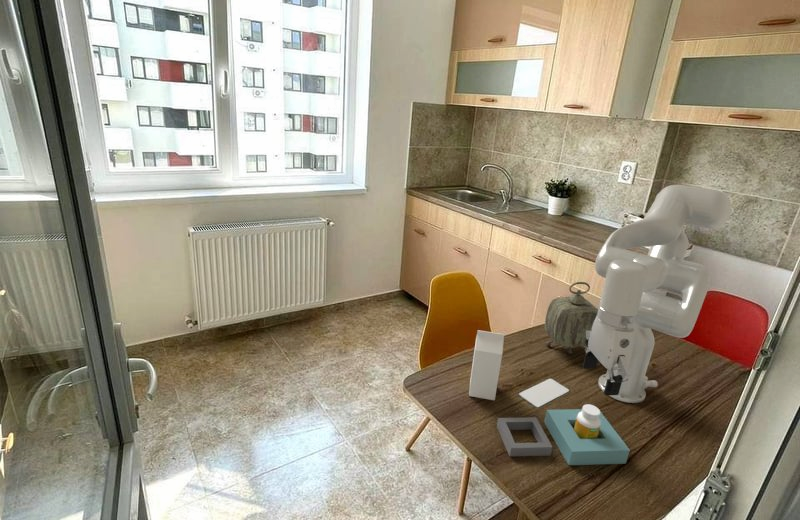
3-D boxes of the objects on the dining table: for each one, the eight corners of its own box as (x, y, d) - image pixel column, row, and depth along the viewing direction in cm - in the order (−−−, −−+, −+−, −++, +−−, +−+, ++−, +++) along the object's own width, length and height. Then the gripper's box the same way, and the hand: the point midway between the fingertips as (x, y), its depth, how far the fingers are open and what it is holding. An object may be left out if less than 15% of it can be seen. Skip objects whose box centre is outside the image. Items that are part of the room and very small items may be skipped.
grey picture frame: (534, 425, 112) (536, 417, 111) (550, 455, 102) (552, 447, 101) (496, 425, 111) (498, 417, 110) (509, 456, 101) (511, 448, 100)
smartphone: (517, 393, 123) (550, 377, 131) (516, 395, 123) (550, 379, 131) (536, 408, 118) (570, 390, 126) (536, 409, 118) (570, 391, 126)
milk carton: (494, 401, 120) (504, 341, 113) (468, 396, 121) (477, 336, 114) (494, 385, 126) (504, 328, 120) (470, 381, 127) (478, 324, 121)
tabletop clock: (579, 342, 152) (594, 277, 143) (593, 357, 144) (610, 288, 135) (540, 343, 150) (553, 276, 141) (552, 358, 142) (567, 288, 133)
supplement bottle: (585, 453, 104) (594, 420, 100) (566, 438, 108) (574, 406, 104) (599, 444, 107) (608, 412, 103) (580, 430, 111) (588, 399, 107)
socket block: (595, 421, 114) (598, 409, 113) (625, 463, 101) (630, 450, 100) (544, 422, 113) (546, 409, 111) (568, 465, 100) (572, 451, 98)
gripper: (657, 337, 87) (636, 405, 94) (611, 297, 103) (595, 358, 110) (622, 337, 87) (603, 406, 93) (580, 298, 102) (567, 359, 109)
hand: (599, 380), depth 101 cm, fingers open, 9 cm apart
